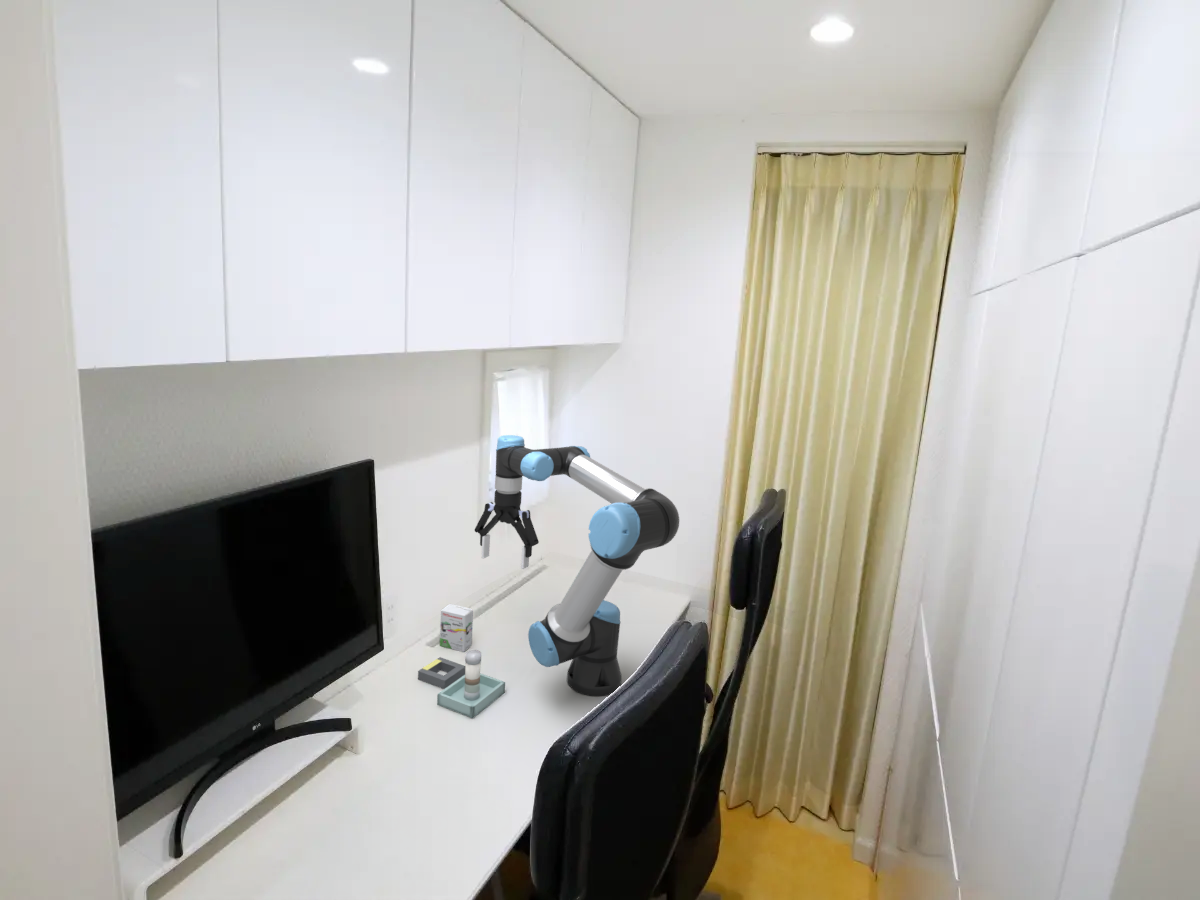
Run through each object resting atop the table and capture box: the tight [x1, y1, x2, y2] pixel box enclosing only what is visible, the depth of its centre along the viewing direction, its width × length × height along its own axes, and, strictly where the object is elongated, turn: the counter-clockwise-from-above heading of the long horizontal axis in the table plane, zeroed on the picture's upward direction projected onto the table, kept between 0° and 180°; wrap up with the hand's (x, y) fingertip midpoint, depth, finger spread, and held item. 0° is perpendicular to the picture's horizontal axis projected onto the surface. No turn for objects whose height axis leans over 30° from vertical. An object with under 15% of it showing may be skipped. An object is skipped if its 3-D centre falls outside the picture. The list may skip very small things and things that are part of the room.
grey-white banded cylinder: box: [464, 649, 482, 701], centre depth 170 cm, size 4×4×12 cm
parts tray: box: [436, 672, 506, 719], centre depth 171 cm, size 11×14×3 cm
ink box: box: [439, 603, 474, 653], centre depth 197 cm, size 8×5×12 cm, turn 71°
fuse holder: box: [417, 656, 466, 690], centre depth 180 cm, size 9×9×3 cm
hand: (504, 562), depth 190 cm, fingers open, 13 cm apart
